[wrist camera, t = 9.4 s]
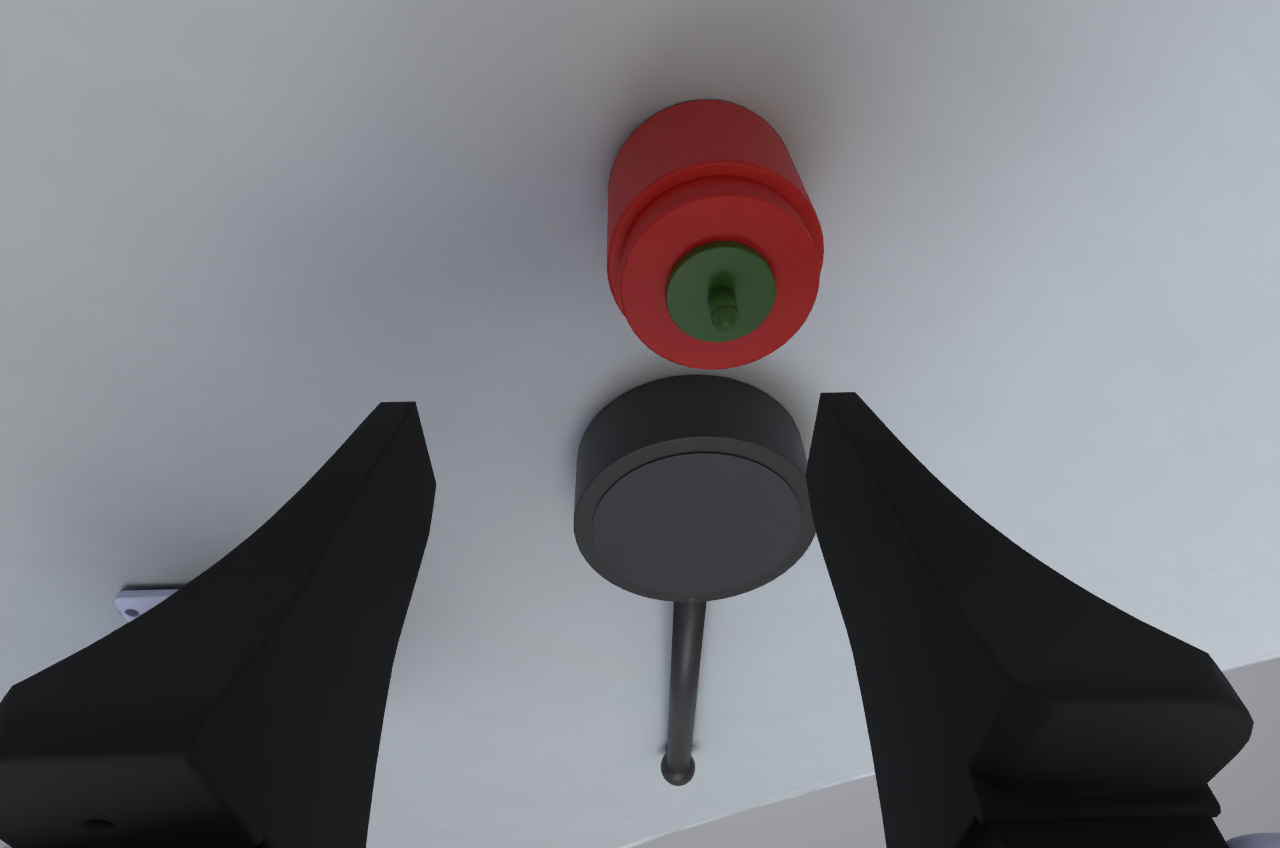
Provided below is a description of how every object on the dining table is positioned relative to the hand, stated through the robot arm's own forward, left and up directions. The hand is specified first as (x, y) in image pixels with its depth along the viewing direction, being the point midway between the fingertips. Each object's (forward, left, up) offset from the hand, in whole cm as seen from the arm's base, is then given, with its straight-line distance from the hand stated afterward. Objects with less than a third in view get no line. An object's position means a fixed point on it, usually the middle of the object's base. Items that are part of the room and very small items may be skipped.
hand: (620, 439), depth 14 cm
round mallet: (-19, -2, -9) cm, 21 cm away
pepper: (+1, -2, -9) cm, 10 cm away
